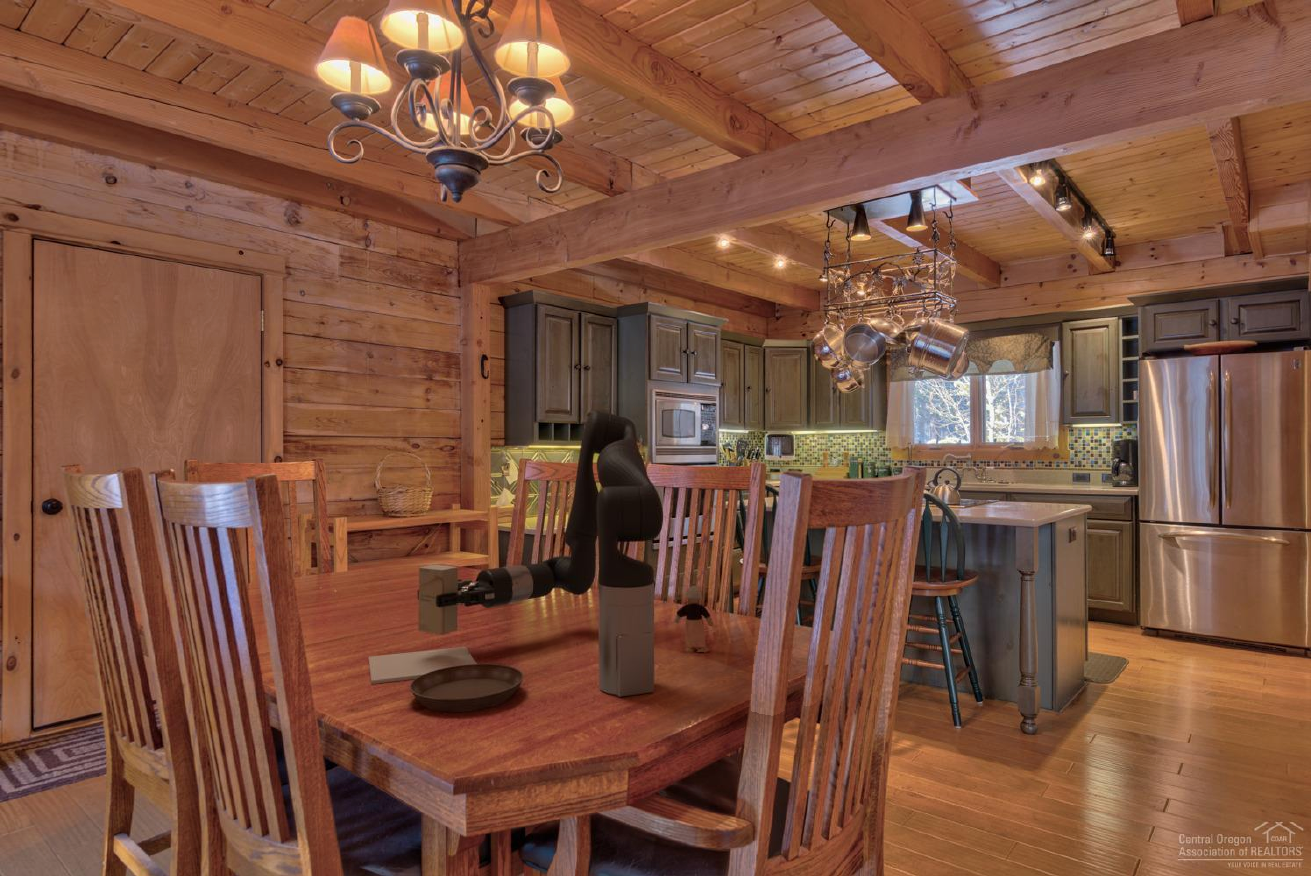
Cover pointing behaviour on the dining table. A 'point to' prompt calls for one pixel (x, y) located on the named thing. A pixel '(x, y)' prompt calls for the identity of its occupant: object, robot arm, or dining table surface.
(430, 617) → the skincare box
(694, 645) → the grandmother figurine
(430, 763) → the dining table surface
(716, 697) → the dining table surface
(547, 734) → the dining table surface
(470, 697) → the plant saucer
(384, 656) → the mat
